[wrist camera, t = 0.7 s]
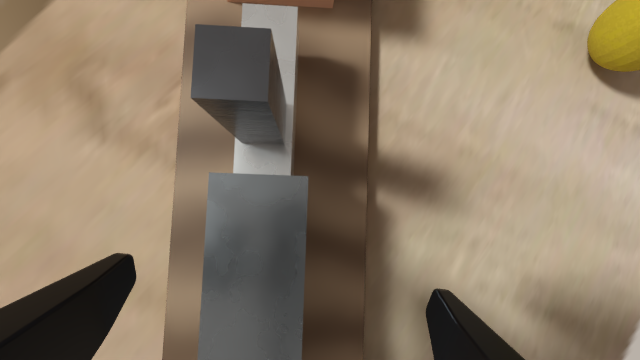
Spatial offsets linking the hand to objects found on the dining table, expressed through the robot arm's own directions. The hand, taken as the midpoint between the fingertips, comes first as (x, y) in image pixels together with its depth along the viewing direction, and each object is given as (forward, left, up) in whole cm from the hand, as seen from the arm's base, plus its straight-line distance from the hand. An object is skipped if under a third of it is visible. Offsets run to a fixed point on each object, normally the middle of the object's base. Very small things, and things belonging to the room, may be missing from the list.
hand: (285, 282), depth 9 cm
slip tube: (+2, +3, -11) cm, 11 cm away
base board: (+5, +3, -14) cm, 15 cm away
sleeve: (-4, +1, -13) cm, 13 cm away
